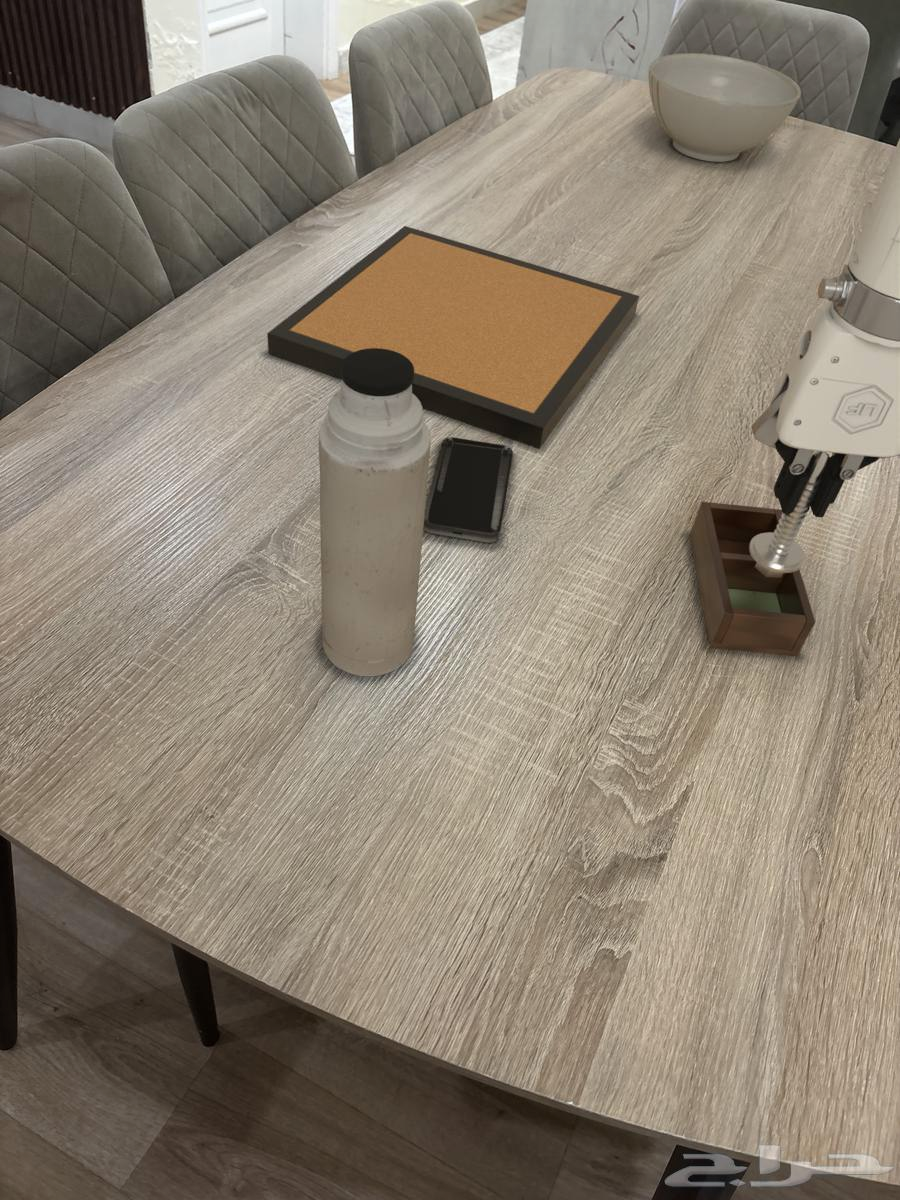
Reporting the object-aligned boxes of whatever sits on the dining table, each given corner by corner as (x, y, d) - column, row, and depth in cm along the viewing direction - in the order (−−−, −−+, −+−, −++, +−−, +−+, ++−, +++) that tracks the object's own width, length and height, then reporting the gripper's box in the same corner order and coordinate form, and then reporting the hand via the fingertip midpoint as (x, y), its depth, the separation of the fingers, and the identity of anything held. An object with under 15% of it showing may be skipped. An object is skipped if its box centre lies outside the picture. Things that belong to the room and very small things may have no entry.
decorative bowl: (604, 138, 173) (618, 66, 165) (691, 112, 187) (708, 45, 179) (722, 190, 161) (744, 115, 152) (806, 159, 175) (830, 89, 166)
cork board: (403, 244, 136) (268, 354, 113) (404, 225, 134) (267, 332, 111) (634, 315, 128) (539, 449, 105) (639, 295, 126) (543, 428, 103)
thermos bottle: (319, 611, 85) (312, 333, 65) (406, 606, 86) (427, 331, 66) (326, 680, 79) (321, 400, 59) (419, 673, 81) (446, 396, 61)
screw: (802, 563, 85) (789, 595, 82) (751, 542, 86) (735, 573, 83) (859, 446, 75) (846, 477, 72) (801, 425, 77) (785, 454, 74)
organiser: (766, 543, 97) (781, 509, 93) (797, 656, 86) (815, 622, 83) (689, 535, 96) (701, 501, 93) (710, 647, 86) (725, 613, 82)
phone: (513, 446, 102) (499, 536, 92) (512, 455, 103) (497, 545, 93) (442, 435, 103) (420, 523, 92) (441, 444, 104) (419, 532, 93)
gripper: (790, 317, 63) (711, 525, 76) (1023, 342, 63) (904, 544, 76) (769, 265, 68) (699, 467, 81) (985, 288, 68) (879, 486, 81)
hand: (799, 503), depth 78 cm, fingers closed on screw, 2 cm apart
